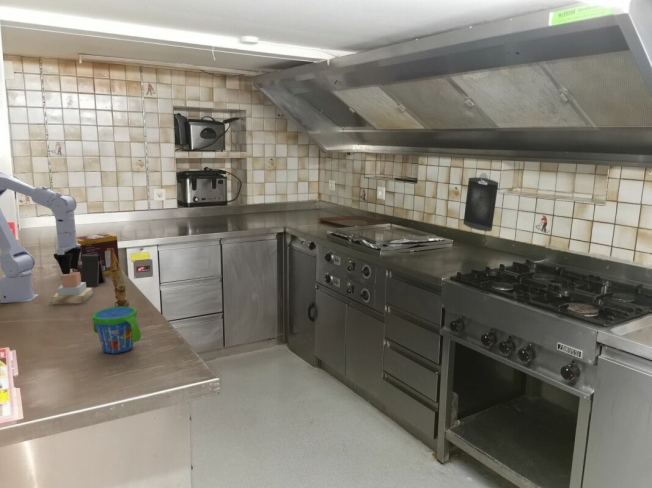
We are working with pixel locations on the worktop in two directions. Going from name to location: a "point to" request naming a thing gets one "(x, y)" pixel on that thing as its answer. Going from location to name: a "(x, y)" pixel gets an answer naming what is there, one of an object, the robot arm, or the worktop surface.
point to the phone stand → (92, 270)
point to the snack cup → (116, 328)
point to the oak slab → (72, 297)
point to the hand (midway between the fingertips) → (70, 271)
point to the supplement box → (98, 249)
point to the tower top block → (72, 289)
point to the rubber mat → (76, 303)
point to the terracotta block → (71, 279)
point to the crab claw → (117, 280)
